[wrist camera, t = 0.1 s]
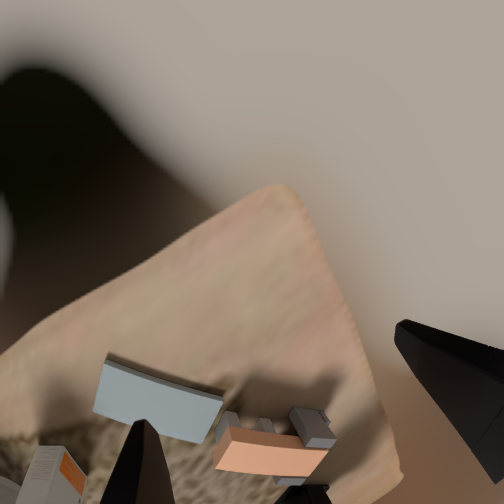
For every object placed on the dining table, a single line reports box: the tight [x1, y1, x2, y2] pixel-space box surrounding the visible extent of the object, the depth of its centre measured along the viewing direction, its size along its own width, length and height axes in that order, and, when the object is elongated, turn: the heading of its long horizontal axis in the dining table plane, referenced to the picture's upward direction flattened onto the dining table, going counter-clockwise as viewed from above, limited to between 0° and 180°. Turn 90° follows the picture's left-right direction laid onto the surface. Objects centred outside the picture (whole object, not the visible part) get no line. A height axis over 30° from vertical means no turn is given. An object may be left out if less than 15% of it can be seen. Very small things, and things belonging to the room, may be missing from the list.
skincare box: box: [15, 445, 88, 504], centre depth 18 cm, size 6×4×12 cm
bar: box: [212, 426, 328, 476], centre depth 24 cm, size 4×10×2 cm, turn 66°
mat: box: [93, 359, 223, 444], centre depth 24 cm, size 6×11×1 cm, turn 66°
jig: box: [214, 407, 337, 485], centre depth 25 cm, size 7×10×5 cm
